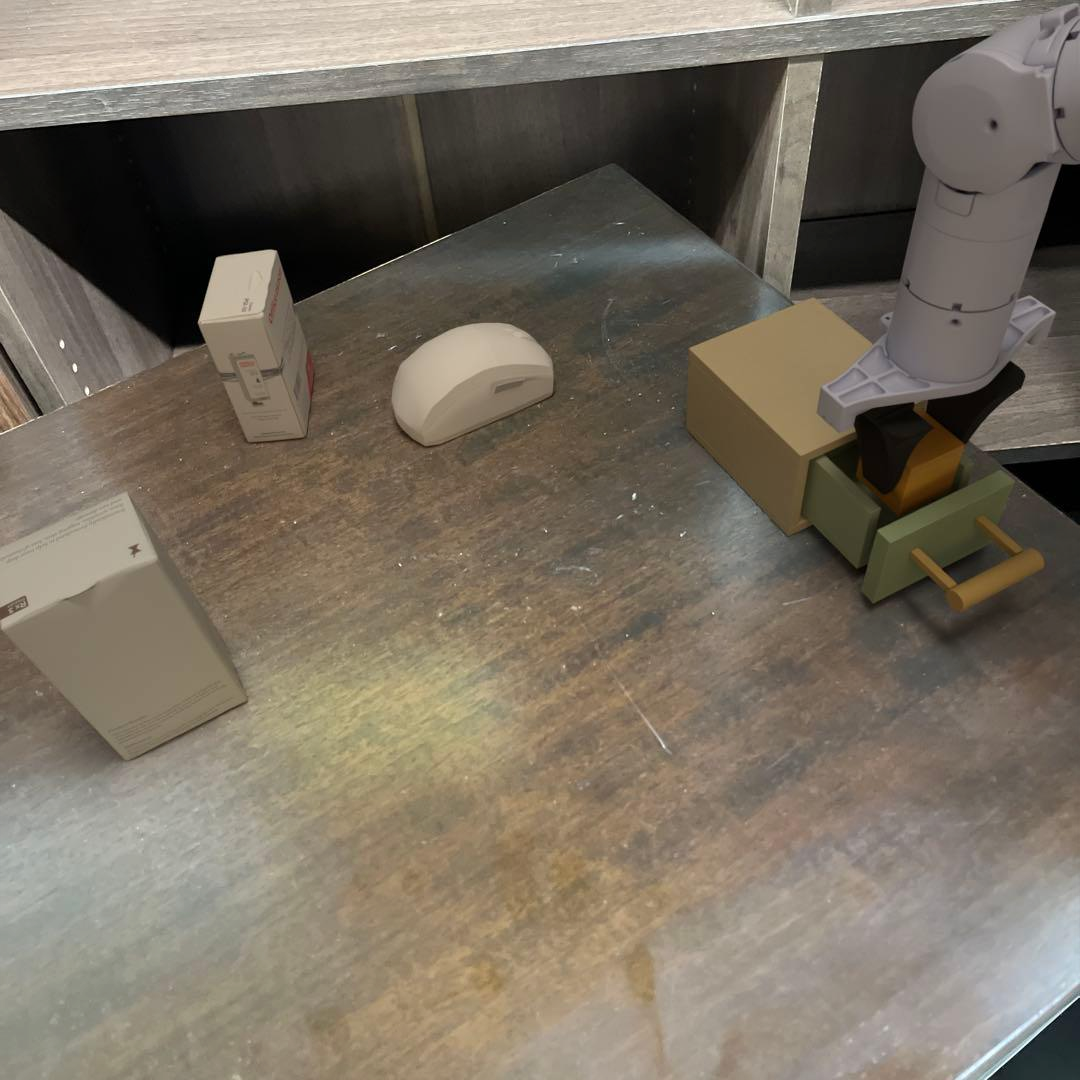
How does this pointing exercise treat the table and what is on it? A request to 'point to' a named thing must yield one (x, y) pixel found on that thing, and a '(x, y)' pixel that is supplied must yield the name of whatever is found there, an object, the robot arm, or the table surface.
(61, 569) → the cosmetic box
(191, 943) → the table surface
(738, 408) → the cabinet
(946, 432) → the block
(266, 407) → the ink box
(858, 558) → the drawer
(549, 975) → the table surface
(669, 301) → the table surface
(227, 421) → the table surface
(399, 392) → the computer mouse
